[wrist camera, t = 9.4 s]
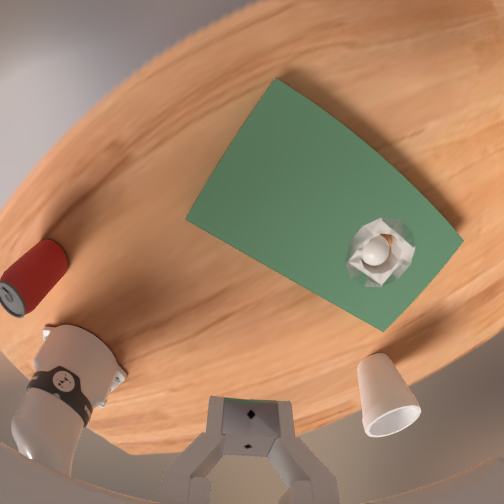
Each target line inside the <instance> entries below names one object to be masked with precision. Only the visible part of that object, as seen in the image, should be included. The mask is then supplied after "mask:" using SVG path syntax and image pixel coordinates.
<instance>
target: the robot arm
mask: <svg viewBox="0 0 504 504" xmlns="http://www.w3.org/2000/svg"><path fill="white" fill-rule="evenodd" d="M43 339H44V343H43V344H42V346H41V348H40V349H39V351H38V353H37V355H36V357H35V358H34V365H35V369H36V372H35V374H34V375H33V377H32V378H31V379H30V381H29V384H28V387H27V393H26V395H25V397H24V398H23V400H22V402H21V404H20V406H19V408H18V410H17V411H16V413H15V415H14V417H13V419H12V424H11V429H12V434H13V437H14V439H15V441H16V443H17V446H18V449H19V452H17V451H15V450H13V449H12V448H10V447H8V446H6V445H5V444H3V443H1V442H0V504H210V491H211V481H210V480H209V479H207V478H205V477H206V476H207V475H208V474H209V473H210V471H211V470H212V469H213V468H214V466H215V465H216V464H217V463H218V461H219V460H220V459H221V458H222V456H223V455H241V456H260V457H267V459H268V460H269V461H270V463H271V464H272V466H273V467H274V468H275V470H276V471H277V473H278V474H279V476H280V477H281V478H282V480H283V481H284V482H285V484H286V485H287V487H288V488H289V489H288V490H287V491H286V492H285V493H284V494H283V495H282V496H281V497H280V498H279V500H278V504H340V500H339V493H338V487H337V481H336V477H335V476H334V475H333V474H332V473H331V472H330V471H329V469H328V468H327V467H326V466H325V465H324V464H323V463H322V462H321V461H320V460H319V459H318V458H317V457H316V456H315V455H314V454H313V452H312V451H311V450H310V449H309V448H308V447H307V446H306V445H305V443H304V442H303V441H302V440H301V439H300V438H299V437H295V430H294V421H293V413H292V404H291V402H290V401H276V400H251V399H250V400H247V399H235V398H225V397H217V396H210V399H209V408H208V417H207V426H206V433H203V432H202V433H201V434H200V435H199V436H198V437H197V438H196V439H195V440H194V441H193V442H192V443H191V444H190V445H189V446H188V447H187V448H186V449H185V450H184V451H183V452H182V453H181V454H180V455H179V456H178V457H177V458H176V459H175V460H174V461H173V462H172V463H171V464H170V465H169V466H168V467H167V468H166V469H165V470H164V472H163V478H162V484H161V490H160V496H159V502H153V501H148V500H144V499H140V498H136V497H131V496H128V495H124V494H120V493H117V492H113V491H110V490H107V489H104V488H100V487H97V486H94V485H92V484H89V483H86V482H83V481H80V480H78V479H75V478H73V477H71V465H72V460H73V456H74V453H75V449H76V446H77V443H78V440H79V437H80V435H81V431H82V429H83V428H84V427H86V425H87V423H88V422H89V420H90V418H91V414H92V411H93V409H94V408H96V407H99V408H103V407H104V405H105V403H106V401H107V399H106V398H107V396H108V394H109V393H110V392H111V391H113V390H114V389H115V388H116V387H117V386H118V385H120V384H121V383H122V382H123V381H124V380H125V379H126V377H127V374H126V373H125V371H124V370H123V369H122V368H121V367H120V366H119V365H118V363H117V361H116V359H115V357H114V355H113V353H112V352H111V351H110V349H109V348H108V347H107V346H106V345H105V344H104V343H103V342H102V341H101V340H100V339H98V338H97V337H96V336H94V335H93V334H91V333H90V332H88V331H86V330H84V329H82V328H79V327H77V326H73V325H61V326H58V327H48V326H46V327H44V329H43ZM359 504H504V458H502V457H500V456H495V457H492V458H490V459H488V460H486V461H484V462H482V463H480V464H478V465H476V466H474V467H472V468H469V469H467V470H465V471H463V472H460V473H458V474H456V475H453V476H451V477H448V478H446V479H443V480H440V481H438V482H435V483H432V484H430V485H427V486H424V487H421V488H417V489H414V490H411V491H408V492H404V493H401V494H397V495H394V496H390V497H386V498H382V499H377V500H373V501H368V502H364V503H359Z"/></svg>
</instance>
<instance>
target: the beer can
mask: <svg viewBox="0 0 504 504" xmlns="http://www.w3.org/2000/svg"><path fill="white" fill-rule="evenodd" d="M67 268H68V261H67V257H66V254H65V252H64V251H63V249H62V248H61V247H60V246H59V245H58V244H57V243H56V242H54V241H52V240H49V239H47V240H42V241H40V242H39V243H37V244H36V245H35V246H34V247H33V248H31V249H30V250H29V251H28V252H27V253H25V254H24V255H23V256H22V257H21V258H19V259H18V260H17V261H16V262H15V263H14V264H13V265H12V266H10V267H9V268H8V269H7V270H6V271H5V272H4V274H3V275H2V277H1V279H0V303H1V305H2V306H3V308H4V309H5V310H6V311H7V312H8V313H9V314H11V315H12V316H14V317H17V318H22V317H23V316H24V315H25V314H28V313H30V312H32V311H33V310H34V309H35V308H36V306H37V305H38V304H39V303H40V302H41V301H42V299H43V298H44V297H45V296H46V295H47V294H48V292H49V291H50V290H51V289H52V288H53V287H54V286H55V284H56V283H57V282H58V281H59V280H60V279H61V278H62V277H63V276H64V274H65V273H66V272H67Z"/></svg>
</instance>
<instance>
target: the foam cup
mask: <svg viewBox="0 0 504 504" xmlns="http://www.w3.org/2000/svg"><path fill="white" fill-rule="evenodd" d="M357 371H358V380H359V387H360V395H361V403H362V412H363V420H362V422H363V425H364V429H365V433H366V434H367V435H368V436H371V437H382V436H387V435H390V434H393V433H396V432H399V431H401V430H402V429H404V428H406V427H407V426H409V425H410V424H412V423H413V422H414V421H415V420H416V419H417V418H418V417H419V415H420V413H421V409H420V406H419V404H418V402H417V399H416V397H415V396H414V395H413V394H412V392H411V391H410V389H409V387H408V386H407V384H406V383H405V381H404V380H403V378H402V376H401V375H400V373H399V372H398V370H397V369H396V367H395V366H394V364H393V362H392V361H391V359H390V358H389V357H388V355H386V354H384V353H376V354H373V355H370V356H368V357H366V358H365V359H364V360H362V361H361V363H360V364H359V365H358V369H357Z"/></svg>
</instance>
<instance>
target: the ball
mask: <svg viewBox="0 0 504 504" xmlns="http://www.w3.org/2000/svg"><path fill="white" fill-rule="evenodd" d="M389 251H390V248H389V244H388V242H387V240H386V239H385V238H384V237H383V236H382V235H378V236H376V237H374V238H371V239H370V241H369V242H368V243H367V244H366V246H365V247H364V248H363V252H362V257H361V259H362V260H363V261H364V262H365V263H367V264H369V265H372V266H376V265H380V264H382V263H383V262H384V261H385V260H386V259H387V258H388V256H389Z"/></svg>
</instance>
